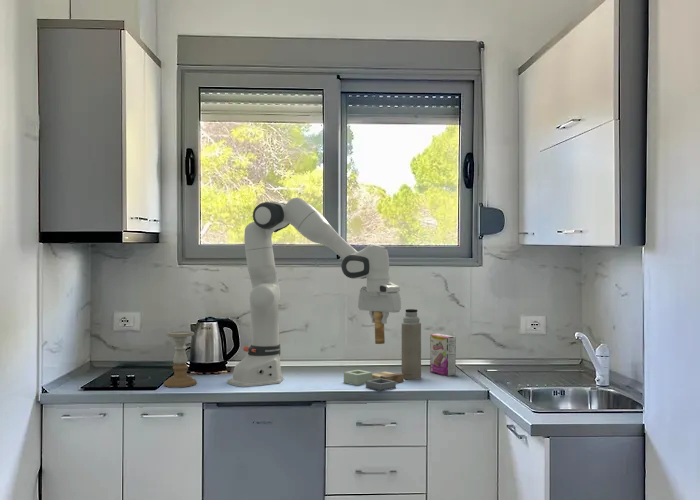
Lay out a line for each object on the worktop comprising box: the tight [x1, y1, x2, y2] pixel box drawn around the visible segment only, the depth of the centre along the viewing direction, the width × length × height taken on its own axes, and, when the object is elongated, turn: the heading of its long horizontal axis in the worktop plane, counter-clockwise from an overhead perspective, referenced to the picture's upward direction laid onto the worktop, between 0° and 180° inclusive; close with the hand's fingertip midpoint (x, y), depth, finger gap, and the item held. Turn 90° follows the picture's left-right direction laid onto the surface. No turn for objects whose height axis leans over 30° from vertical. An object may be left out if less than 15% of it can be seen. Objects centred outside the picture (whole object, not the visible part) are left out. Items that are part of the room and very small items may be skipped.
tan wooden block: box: [372, 371, 395, 380], centre depth 248 cm, size 9×7×3 cm
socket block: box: [343, 369, 373, 386], centre depth 244 cm, size 8×8×4 cm
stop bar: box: [380, 372, 405, 384], centre depth 244 cm, size 10×3×3 cm, turn 131°
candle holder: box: [163, 330, 197, 388], centre depth 240 cm, size 12×12×20 cm
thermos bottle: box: [401, 308, 422, 380], centre depth 254 cm, size 8×8×28 cm
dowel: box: [374, 311, 386, 345], centre depth 236 cm, size 4×4×12 cm
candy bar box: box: [429, 333, 457, 377], centre depth 262 cm, size 11×5×16 cm, turn 34°
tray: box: [365, 378, 397, 392], centre depth 234 cm, size 8×8×2 cm
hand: (379, 323), depth 236 cm, fingers closed on dowel, 4 cm apart
